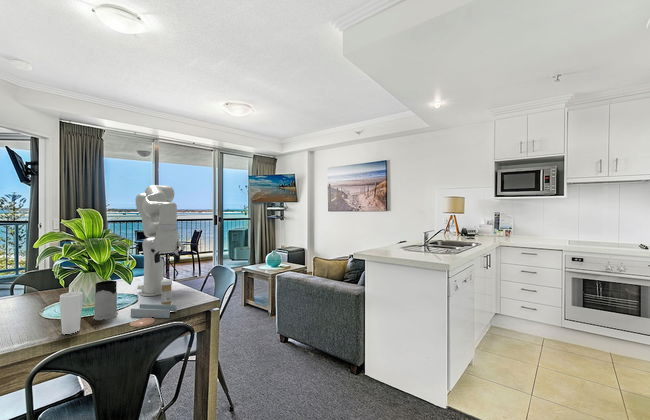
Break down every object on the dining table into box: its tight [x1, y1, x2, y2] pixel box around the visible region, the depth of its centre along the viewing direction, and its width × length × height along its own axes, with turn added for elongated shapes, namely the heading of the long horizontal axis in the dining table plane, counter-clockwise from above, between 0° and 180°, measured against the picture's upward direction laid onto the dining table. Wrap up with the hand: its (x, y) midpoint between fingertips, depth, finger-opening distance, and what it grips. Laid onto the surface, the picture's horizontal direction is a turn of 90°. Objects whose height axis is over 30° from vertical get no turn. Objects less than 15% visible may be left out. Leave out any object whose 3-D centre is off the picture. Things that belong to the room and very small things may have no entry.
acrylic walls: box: [130, 303, 178, 319], centre depth 132 cm, size 17×7×4 cm, turn 89°
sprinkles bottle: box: [160, 278, 173, 305], centre depth 141 cm, size 5×5×13 cm
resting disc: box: [129, 317, 156, 328], centre depth 123 cm, size 9×9×1 cm
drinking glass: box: [59, 291, 84, 336], centre depth 112 cm, size 7×7×15 cm
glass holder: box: [92, 280, 119, 321], centre depth 131 cm, size 9×14×15 cm, turn 20°
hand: (167, 262), depth 141 cm, fingers open, 9 cm apart
